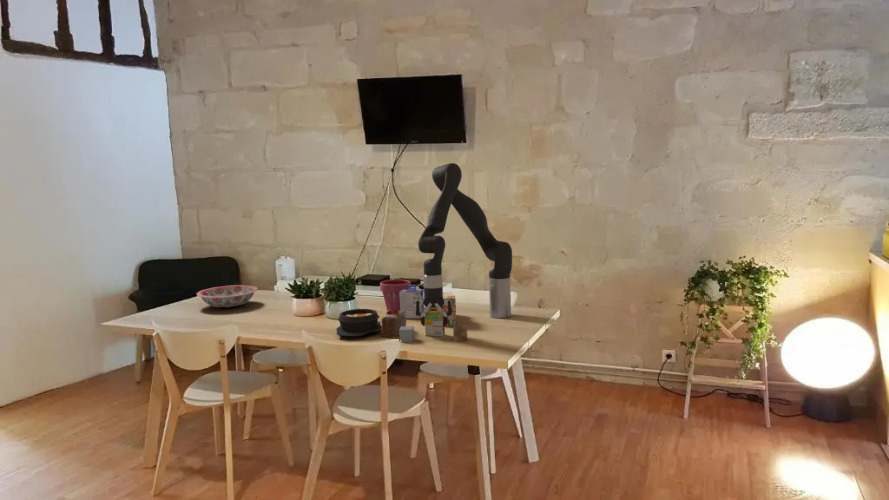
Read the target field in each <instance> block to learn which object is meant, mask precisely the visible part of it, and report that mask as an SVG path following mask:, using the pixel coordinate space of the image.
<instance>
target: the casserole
mask: <svg viewBox="0 0 889 500" xmlns="http://www.w3.org/2000/svg"><path fill="white" fill-rule="evenodd" d="M379 319H380V315H379V314H378V312H377V310H374V309H371V308H355V309H354V308H353V309H349V310H344V311H341V312H340V314H339V317H338V318H337V322H339V324H340V325H339V326H338V327H337V328H336V330H335V331H336V335H337V336H340V337H341V336H342V337H362V336H366V335H371V334H373V333H375V332H377V331H380V330H382V323H381V321H379Z"/></svg>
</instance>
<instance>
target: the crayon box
mask: <svg viewBox="0 0 889 500" xmlns="http://www.w3.org/2000/svg"><path fill="white" fill-rule="evenodd" d="M430 309H437V311H430ZM424 316H425V326H424V329H425V336H426V337H444V336H445V335H446V334H445V333H446V332H445V327H444V315H443V312H442V308H440V311H439V309H438V308H429V309H428V311H427V312H426V313H425V315H424Z"/></svg>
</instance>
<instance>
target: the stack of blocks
mask: <svg viewBox="0 0 889 500" xmlns="http://www.w3.org/2000/svg"><path fill="white" fill-rule="evenodd" d="M443 299H444V300H449V299H450V300H451V305H452V315H449V316H448V323H447V324H446V326H444V328H445V327H454V326H457V313H456V312H457V305H456V303H457V302H456V300H457V299H456V296H455V293H454V292H453V291H449V292H446V291H445V292H444V291H443ZM442 307H443V308H444V309H445V311H446V312H448V306H447V305H446V304H445V303H444V304H443V306H442Z"/></svg>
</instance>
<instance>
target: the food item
mask: <svg viewBox="0 0 889 500" xmlns="http://www.w3.org/2000/svg"><path fill="white" fill-rule="evenodd" d="M380 322H381V326H382V328H381V336H382V337H383V338H393V337H395V338H397V336H398V335H399V329H400V327H404V326H407V318H406V315H404V313H403V312H401V311H400V310H394V311H393V310H388V309H387V311H386V313H385V316H383V317H382V318H381V321H380Z"/></svg>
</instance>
